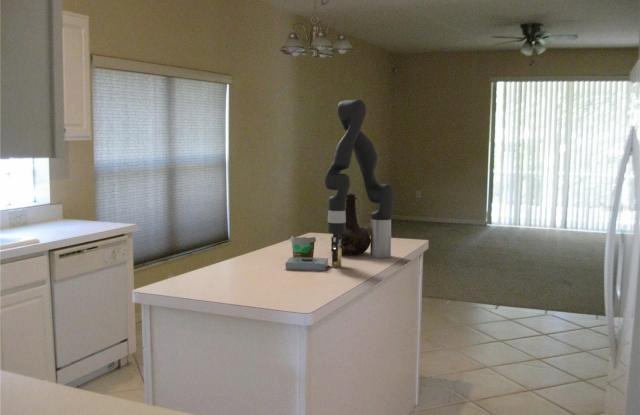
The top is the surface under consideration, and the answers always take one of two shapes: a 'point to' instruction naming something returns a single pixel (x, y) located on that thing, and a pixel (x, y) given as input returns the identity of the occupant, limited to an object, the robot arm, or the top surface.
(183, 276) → the top surface
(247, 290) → the top surface
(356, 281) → the top surface
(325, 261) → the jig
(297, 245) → the food container
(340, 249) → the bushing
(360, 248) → the glass bottle
